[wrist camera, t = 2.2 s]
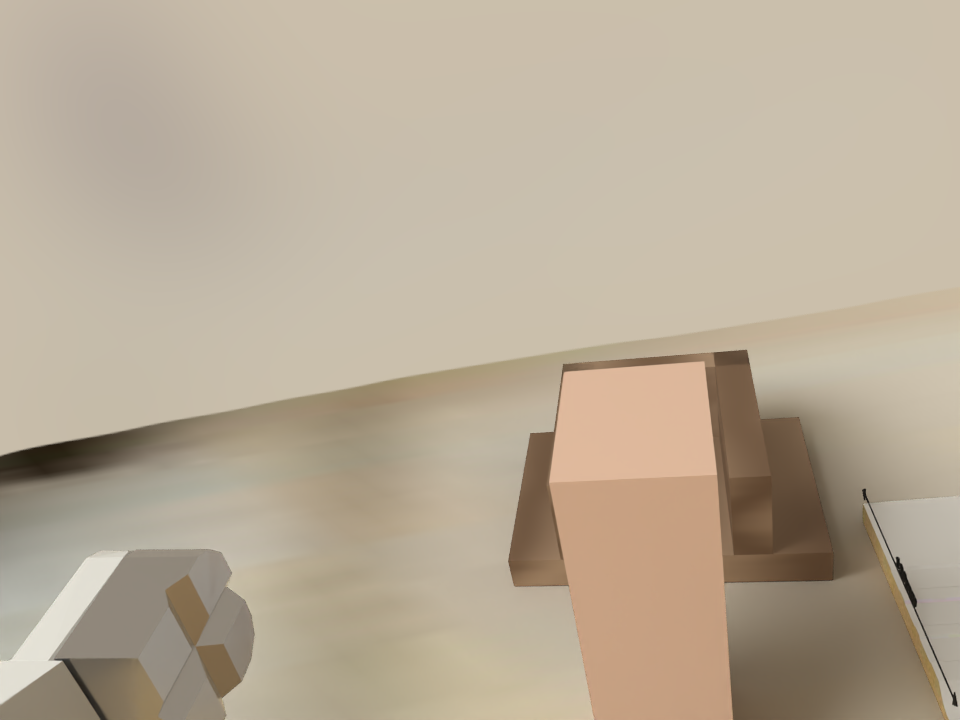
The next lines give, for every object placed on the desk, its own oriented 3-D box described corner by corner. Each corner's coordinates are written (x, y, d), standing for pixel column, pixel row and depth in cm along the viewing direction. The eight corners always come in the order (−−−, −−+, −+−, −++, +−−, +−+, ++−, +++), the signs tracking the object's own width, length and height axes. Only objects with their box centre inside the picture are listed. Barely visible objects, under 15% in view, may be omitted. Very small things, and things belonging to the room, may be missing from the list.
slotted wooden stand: (514, 586, 38) (491, 488, 35) (535, 456, 45) (517, 367, 43) (832, 579, 35) (835, 473, 32) (798, 442, 42) (798, 345, 40)
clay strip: (612, 813, 29) (549, 482, 21) (615, 684, 33) (563, 371, 26) (739, 818, 28) (717, 474, 21) (726, 685, 32) (704, 361, 25)
